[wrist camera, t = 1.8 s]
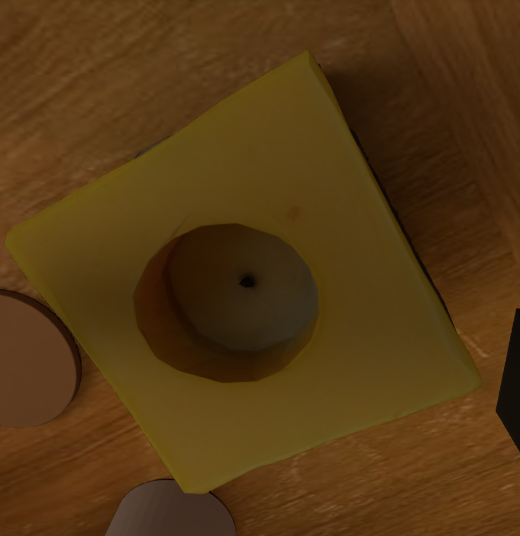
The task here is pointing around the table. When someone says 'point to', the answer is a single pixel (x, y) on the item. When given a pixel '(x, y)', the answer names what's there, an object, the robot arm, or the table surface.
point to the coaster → (34, 363)
